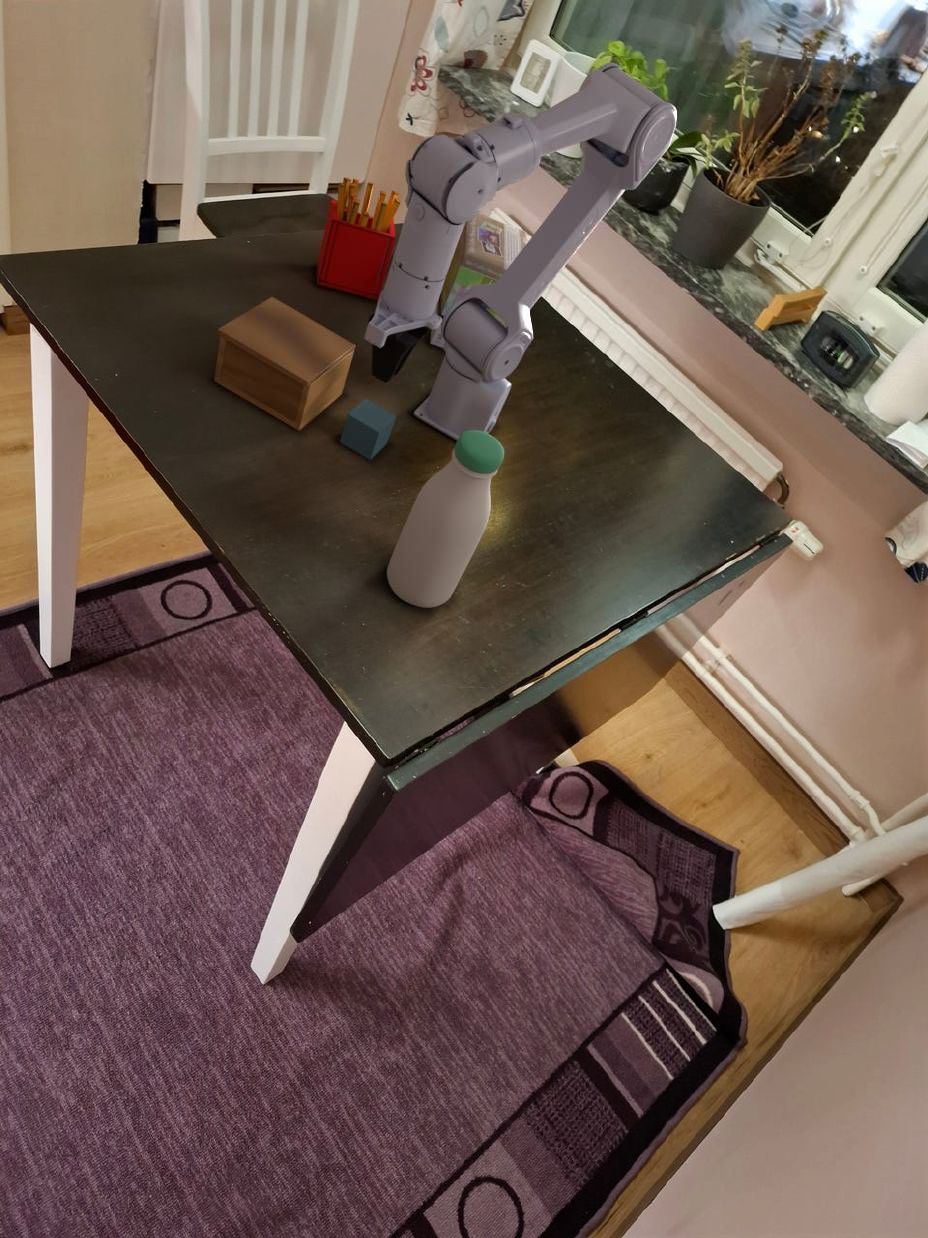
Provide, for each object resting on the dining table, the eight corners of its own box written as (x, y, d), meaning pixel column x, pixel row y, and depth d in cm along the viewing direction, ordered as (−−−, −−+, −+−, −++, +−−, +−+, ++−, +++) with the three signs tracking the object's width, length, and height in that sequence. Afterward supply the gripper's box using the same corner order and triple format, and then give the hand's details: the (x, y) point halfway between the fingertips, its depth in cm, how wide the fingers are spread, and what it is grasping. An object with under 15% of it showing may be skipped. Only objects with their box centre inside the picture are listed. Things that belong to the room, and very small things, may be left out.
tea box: (491, 366, 123) (530, 277, 113) (428, 345, 121) (461, 251, 110) (492, 315, 133) (528, 228, 123) (434, 294, 131) (465, 204, 120)
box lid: (306, 387, 94) (308, 382, 93) (216, 334, 94) (217, 328, 94) (354, 349, 102) (355, 345, 101) (271, 301, 102) (272, 296, 102)
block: (386, 443, 104) (396, 416, 100) (370, 460, 101) (379, 432, 97) (356, 426, 104) (365, 398, 101) (339, 442, 101) (347, 413, 98)
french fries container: (316, 262, 125) (337, 169, 115) (375, 278, 128) (400, 189, 118) (317, 287, 121) (338, 193, 111) (377, 302, 124) (403, 212, 114)
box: (298, 431, 99) (310, 385, 94) (214, 380, 100) (220, 332, 95) (341, 394, 107) (354, 350, 102) (262, 347, 107) (271, 301, 102)
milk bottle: (443, 620, 88) (514, 485, 74) (376, 593, 87) (434, 451, 73) (458, 572, 94) (527, 438, 79) (395, 546, 93) (453, 405, 78)
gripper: (424, 308, 80) (386, 418, 89) (479, 263, 90) (440, 366, 99) (361, 272, 80) (330, 386, 90) (424, 231, 90) (390, 337, 100)
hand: (384, 374), depth 95 cm, fingers closed
